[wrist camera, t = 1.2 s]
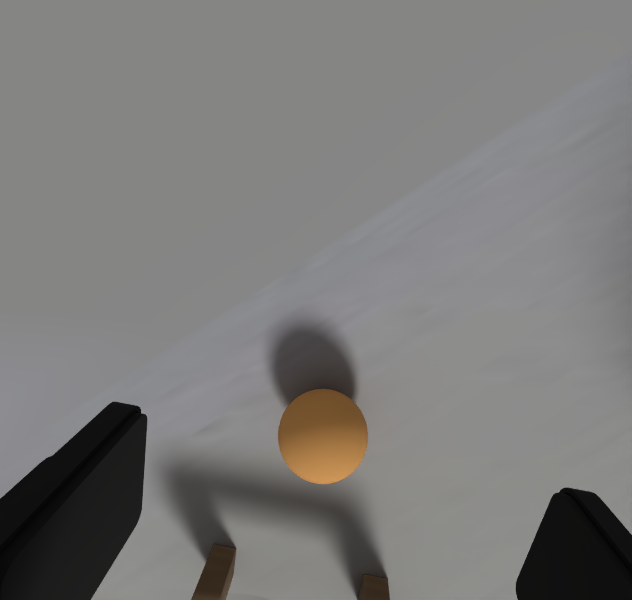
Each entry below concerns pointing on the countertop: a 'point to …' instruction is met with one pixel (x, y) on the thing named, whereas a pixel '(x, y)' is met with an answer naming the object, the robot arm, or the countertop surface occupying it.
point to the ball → (323, 436)
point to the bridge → (221, 568)
